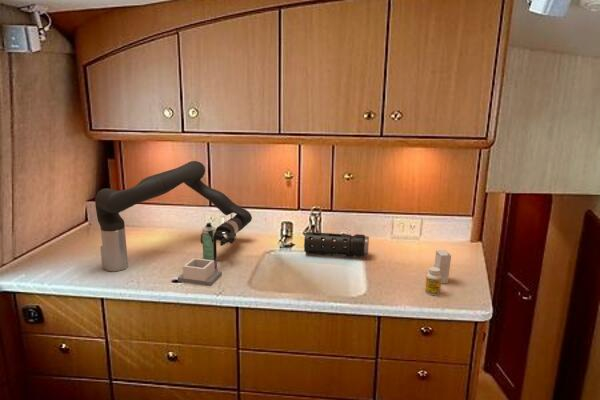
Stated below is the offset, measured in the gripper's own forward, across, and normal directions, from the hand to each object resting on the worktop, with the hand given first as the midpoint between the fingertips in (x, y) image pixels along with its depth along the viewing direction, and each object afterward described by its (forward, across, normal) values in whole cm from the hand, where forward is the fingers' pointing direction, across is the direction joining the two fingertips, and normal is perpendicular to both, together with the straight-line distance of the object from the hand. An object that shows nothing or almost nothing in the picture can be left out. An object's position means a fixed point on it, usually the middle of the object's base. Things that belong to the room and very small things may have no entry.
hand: (211, 242), depth 203 cm
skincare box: (-14, +92, +11) cm, 94 cm away
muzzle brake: (-29, +47, +11) cm, 56 cm away
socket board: (+11, 0, +11) cm, 16 cm away
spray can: (+2, 0, +11) cm, 11 cm away
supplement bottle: (-2, +89, +11) cm, 90 cm away
